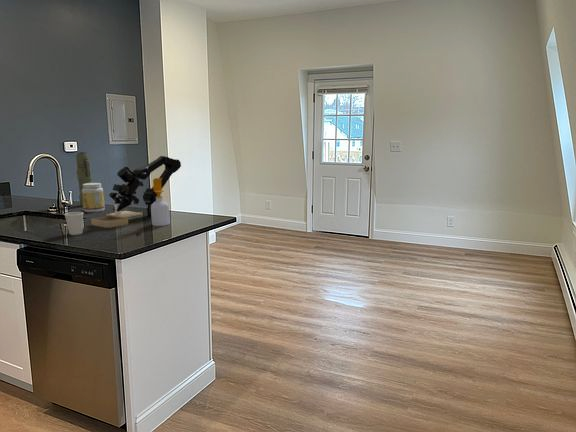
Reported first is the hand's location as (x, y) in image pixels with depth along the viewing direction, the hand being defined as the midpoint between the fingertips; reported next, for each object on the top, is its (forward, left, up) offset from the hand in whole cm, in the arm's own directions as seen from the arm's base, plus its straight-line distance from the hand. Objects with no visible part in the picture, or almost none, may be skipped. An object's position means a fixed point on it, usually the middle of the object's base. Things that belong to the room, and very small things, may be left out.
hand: (115, 210), depth 232 cm
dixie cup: (+9, +23, -7) cm, 26 cm away
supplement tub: (+32, -37, -7) cm, 49 cm away
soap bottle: (-25, +1, -7) cm, 26 cm away
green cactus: (+47, -56, -7) cm, 74 cm away
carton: (+2, +3, -7) cm, 8 cm away
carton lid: (-3, -5, -3) cm, 6 cm away
